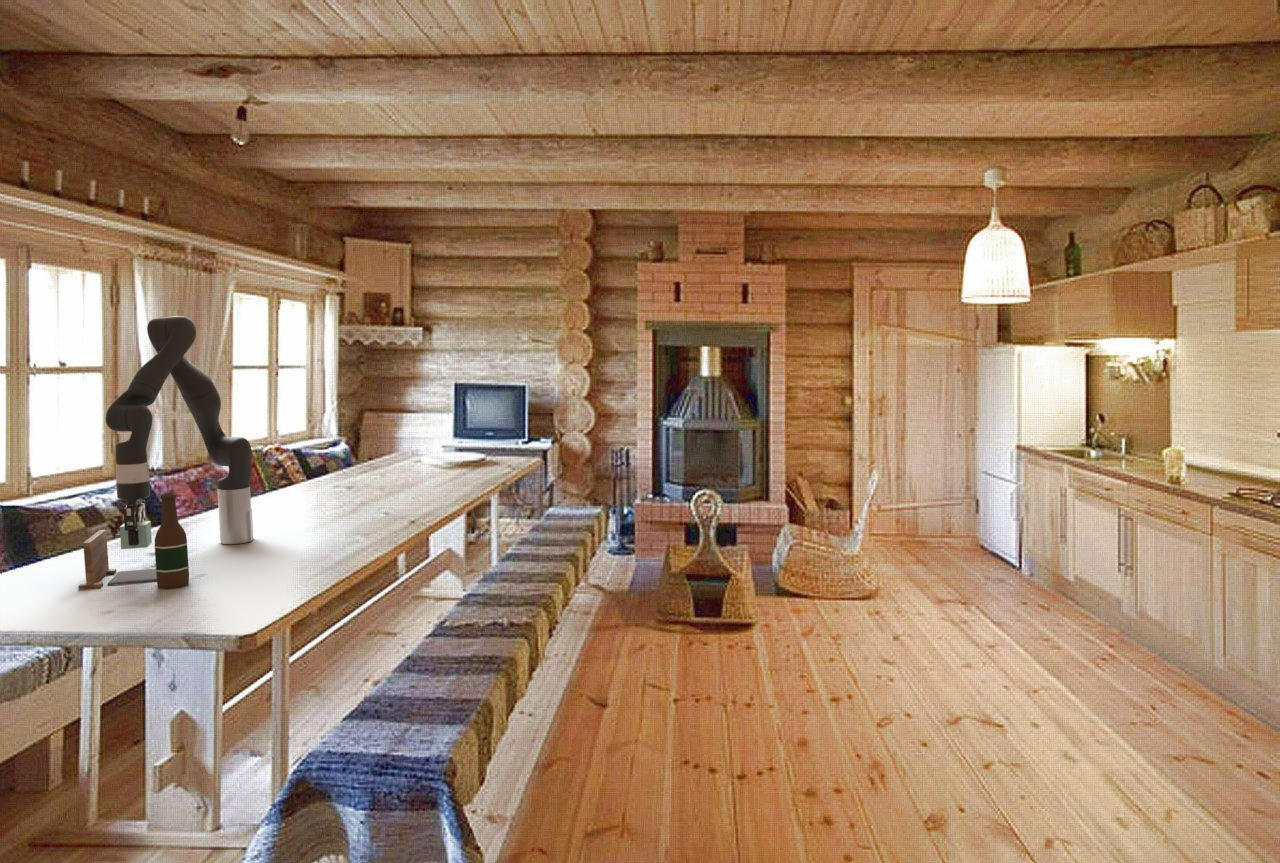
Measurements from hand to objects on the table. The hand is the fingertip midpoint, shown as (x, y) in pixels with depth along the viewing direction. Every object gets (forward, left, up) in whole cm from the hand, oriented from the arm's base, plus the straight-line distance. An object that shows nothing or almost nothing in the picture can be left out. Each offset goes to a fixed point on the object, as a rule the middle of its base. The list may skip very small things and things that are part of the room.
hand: (136, 542), depth 223 cm
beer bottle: (-10, +12, -10) cm, 18 cm away
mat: (0, 0, -10) cm, 10 cm away
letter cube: (0, 0, -1) cm, 1 cm away
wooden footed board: (+9, 0, -10) cm, 13 cm away
